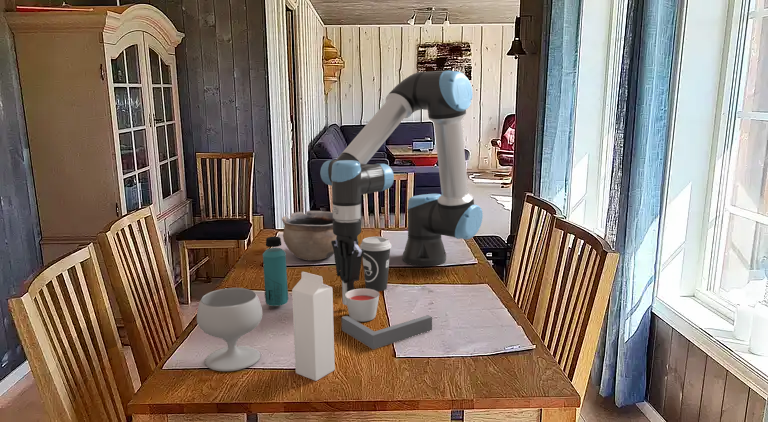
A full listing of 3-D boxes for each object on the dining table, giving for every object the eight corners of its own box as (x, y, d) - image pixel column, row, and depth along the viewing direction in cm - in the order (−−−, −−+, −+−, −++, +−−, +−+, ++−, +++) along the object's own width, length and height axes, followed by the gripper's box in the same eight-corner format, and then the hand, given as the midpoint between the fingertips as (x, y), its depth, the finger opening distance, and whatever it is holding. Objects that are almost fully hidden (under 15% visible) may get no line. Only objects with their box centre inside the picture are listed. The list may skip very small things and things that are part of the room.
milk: (314, 363, 128) (311, 267, 124) (335, 370, 125) (332, 272, 120) (295, 373, 123) (290, 274, 119) (315, 381, 120) (312, 280, 115)
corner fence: (398, 313, 155) (398, 301, 155) (432, 330, 145) (432, 317, 144) (341, 330, 145) (341, 317, 144) (373, 349, 134) (372, 335, 134)
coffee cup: (388, 294, 170) (388, 244, 167) (357, 292, 172) (356, 243, 169) (394, 283, 179) (394, 236, 176) (364, 281, 181) (363, 235, 178)
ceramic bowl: (313, 246, 222) (312, 207, 219) (358, 255, 209) (357, 214, 206) (271, 260, 204) (268, 218, 201) (316, 271, 192) (315, 227, 189)
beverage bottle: (293, 304, 163) (290, 235, 158) (281, 312, 157) (278, 241, 152) (272, 301, 165) (269, 233, 161) (260, 310, 159) (256, 239, 154)
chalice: (208, 347, 136) (203, 286, 133) (268, 345, 137) (265, 284, 134) (193, 376, 123) (187, 309, 119) (260, 373, 124) (256, 307, 120)
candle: (354, 326, 147) (353, 302, 146) (340, 314, 155) (339, 292, 154) (385, 319, 151) (385, 296, 150) (370, 308, 159) (369, 286, 158)
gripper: (322, 216, 156) (324, 299, 161) (347, 226, 146) (349, 314, 151) (345, 213, 160) (347, 293, 165) (372, 221, 150) (373, 307, 155)
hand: (348, 303), depth 158 cm, fingers closed
